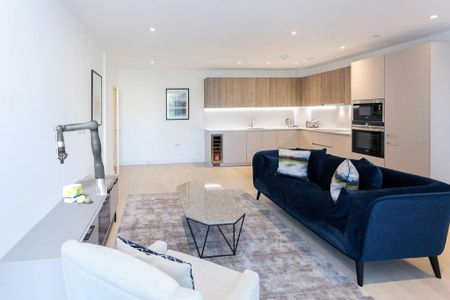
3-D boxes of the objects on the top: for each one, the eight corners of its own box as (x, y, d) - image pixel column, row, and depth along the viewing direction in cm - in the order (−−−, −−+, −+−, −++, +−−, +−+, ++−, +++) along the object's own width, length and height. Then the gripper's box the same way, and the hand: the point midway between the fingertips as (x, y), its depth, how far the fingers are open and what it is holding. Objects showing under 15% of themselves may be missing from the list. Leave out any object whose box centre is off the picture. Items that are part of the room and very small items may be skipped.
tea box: (73, 202, 335) (72, 187, 333) (64, 202, 337) (62, 187, 335) (83, 198, 350) (81, 183, 348) (74, 198, 352) (72, 183, 350)
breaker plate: (86, 200, 342) (86, 197, 342) (92, 201, 334) (91, 199, 334) (72, 203, 332) (72, 201, 332) (77, 205, 324) (77, 202, 324)
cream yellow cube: (83, 198, 339) (83, 195, 338) (84, 199, 337) (84, 196, 337) (80, 199, 337) (80, 196, 336) (81, 199, 335) (81, 196, 334)
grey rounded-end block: (89, 202, 332) (89, 197, 331) (92, 203, 328) (91, 198, 328) (84, 203, 328) (83, 198, 328) (86, 204, 325) (86, 199, 324)
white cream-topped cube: (80, 201, 330) (80, 198, 329) (82, 201, 328) (81, 198, 328) (77, 201, 328) (77, 198, 327) (78, 202, 326) (78, 199, 325)
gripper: (65, 145, 351) (67, 162, 353) (51, 146, 342) (53, 164, 344) (69, 145, 346) (70, 163, 348) (54, 147, 336) (56, 165, 338)
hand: (62, 163), depth 346 cm, fingers closed
